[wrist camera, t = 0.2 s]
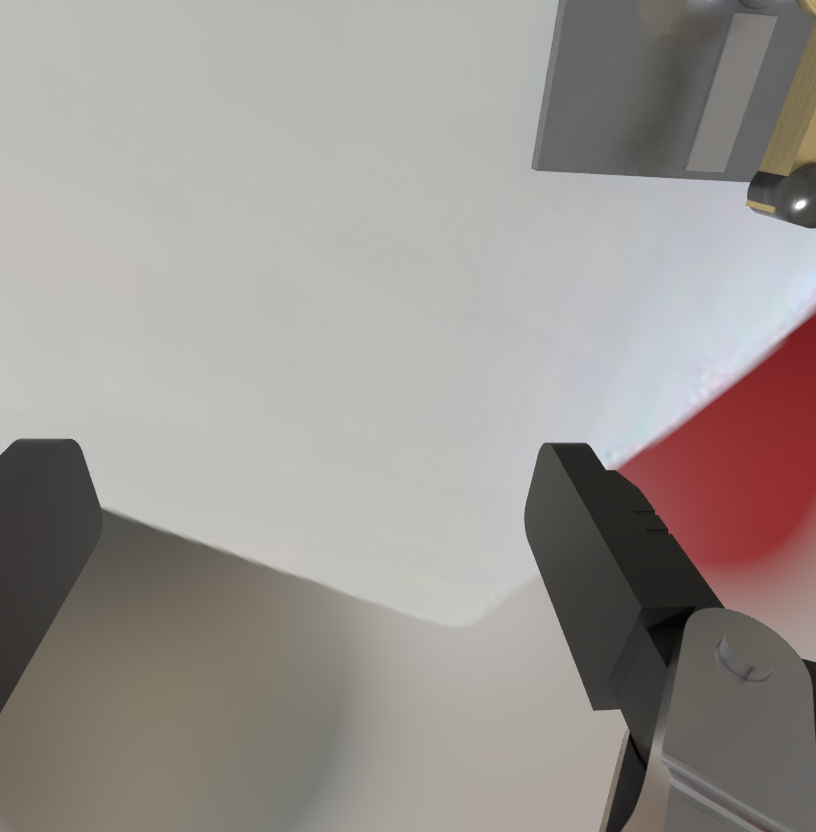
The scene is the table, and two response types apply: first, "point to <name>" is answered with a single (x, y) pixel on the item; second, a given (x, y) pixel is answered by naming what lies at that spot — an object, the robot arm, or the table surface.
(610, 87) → the lock base
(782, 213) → the brass lever handle
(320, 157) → the table surface
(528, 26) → the table surface
